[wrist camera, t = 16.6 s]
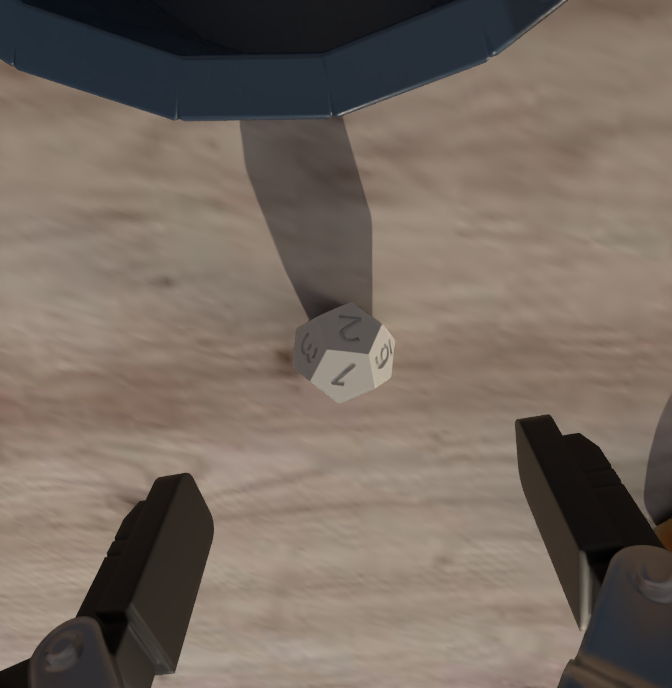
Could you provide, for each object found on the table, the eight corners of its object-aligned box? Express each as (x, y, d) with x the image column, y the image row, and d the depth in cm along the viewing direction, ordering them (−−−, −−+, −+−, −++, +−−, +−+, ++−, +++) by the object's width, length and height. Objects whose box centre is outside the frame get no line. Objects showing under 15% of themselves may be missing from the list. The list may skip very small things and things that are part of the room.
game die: (411, 330, 19) (422, 372, 16) (343, 389, 20) (344, 437, 18) (344, 269, 18) (344, 305, 15) (277, 336, 19) (266, 379, 17)
